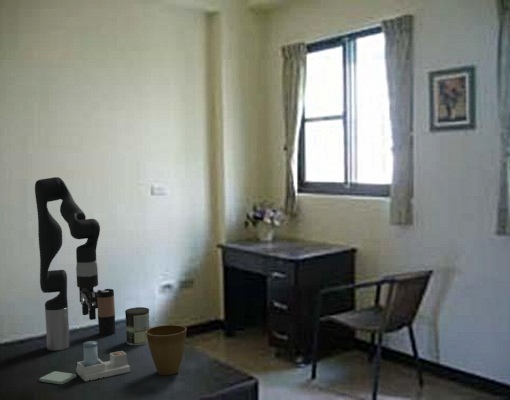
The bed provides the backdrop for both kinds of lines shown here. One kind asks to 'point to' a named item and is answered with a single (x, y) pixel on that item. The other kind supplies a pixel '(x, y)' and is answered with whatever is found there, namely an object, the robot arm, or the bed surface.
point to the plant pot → (167, 347)
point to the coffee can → (137, 325)
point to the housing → (104, 367)
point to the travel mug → (106, 312)
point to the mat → (57, 377)
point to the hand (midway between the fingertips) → (89, 317)
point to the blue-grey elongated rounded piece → (90, 353)
